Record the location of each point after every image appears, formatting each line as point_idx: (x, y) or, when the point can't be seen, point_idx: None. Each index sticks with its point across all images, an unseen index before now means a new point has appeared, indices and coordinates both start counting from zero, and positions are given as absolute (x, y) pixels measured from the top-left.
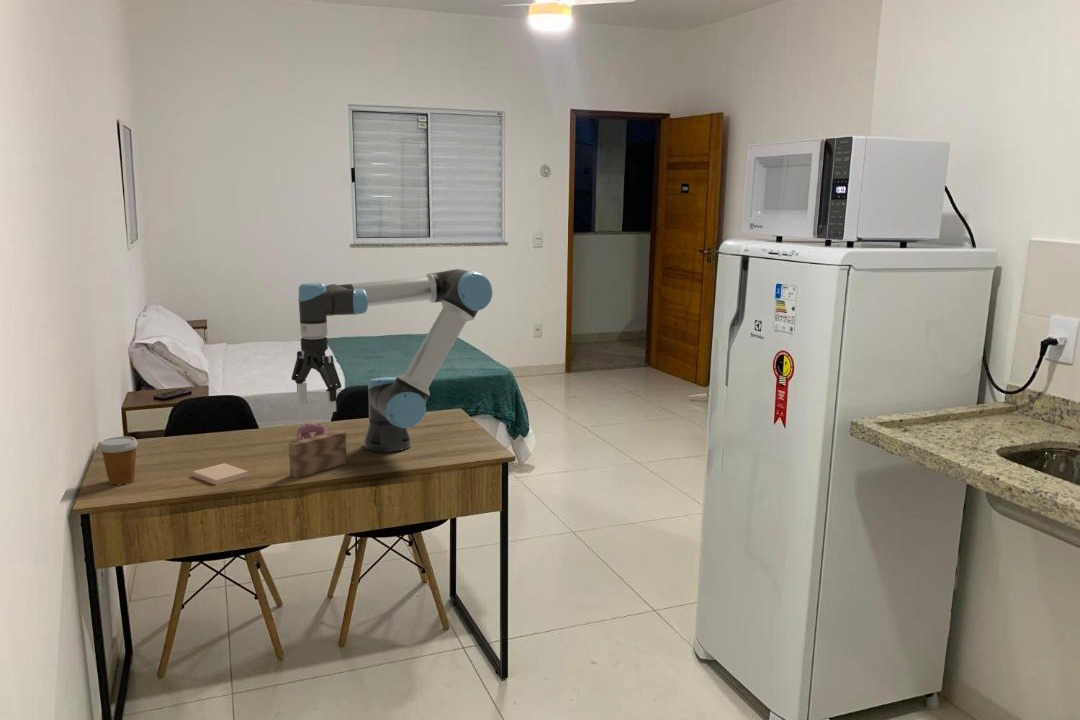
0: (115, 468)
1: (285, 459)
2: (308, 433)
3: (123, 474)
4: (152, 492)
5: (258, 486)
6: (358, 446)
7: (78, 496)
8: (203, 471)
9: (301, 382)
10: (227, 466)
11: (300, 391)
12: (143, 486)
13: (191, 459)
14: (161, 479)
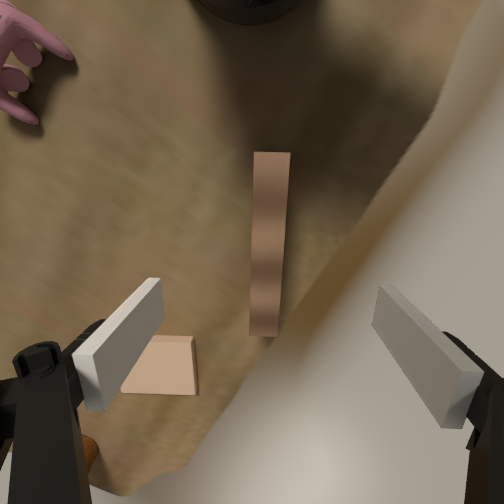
0: None
1: (146, 232)
2: (4, 72)
3: (89, 469)
4: (159, 445)
5: (257, 355)
6: (179, 10)
7: (108, 491)
8: (134, 383)
9: (76, 386)
10: None
11: (131, 359)
12: (124, 440)
13: (25, 342)
14: (108, 415)
